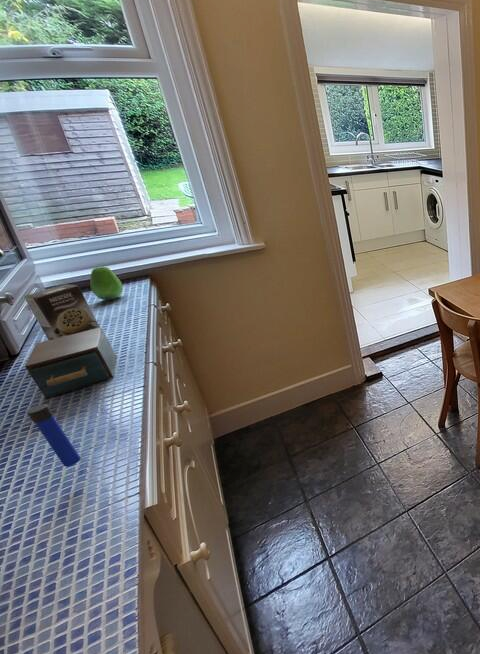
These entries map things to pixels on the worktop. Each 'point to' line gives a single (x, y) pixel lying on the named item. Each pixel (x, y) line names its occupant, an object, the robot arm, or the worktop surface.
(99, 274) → the avocado
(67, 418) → the worktop surface
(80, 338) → the cabinet
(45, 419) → the marker
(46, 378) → the drawer
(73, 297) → the coffee box
